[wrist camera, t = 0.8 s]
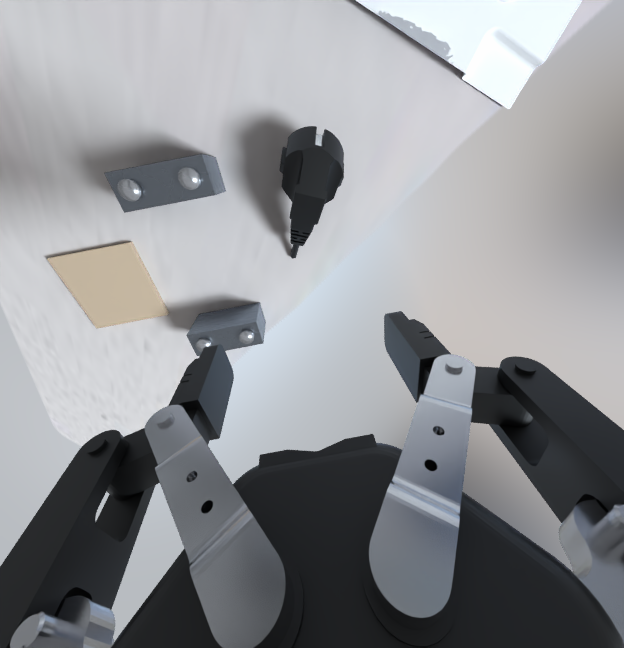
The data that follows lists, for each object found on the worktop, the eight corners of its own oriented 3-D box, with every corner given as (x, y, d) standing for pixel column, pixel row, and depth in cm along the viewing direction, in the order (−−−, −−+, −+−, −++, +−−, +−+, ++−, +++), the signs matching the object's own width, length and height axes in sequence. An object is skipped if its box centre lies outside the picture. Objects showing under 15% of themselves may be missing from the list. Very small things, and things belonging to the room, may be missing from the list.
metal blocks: (134, 172, 25) (99, 172, 20) (215, 157, 25) (199, 153, 20) (207, 333, 35) (195, 359, 30) (265, 322, 35) (262, 346, 30)
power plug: (268, 257, 29) (280, 159, 19) (275, 207, 32) (289, 97, 21) (316, 266, 31) (353, 177, 20) (319, 217, 33) (353, 116, 23)
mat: (51, 257, 28) (46, 258, 28) (131, 241, 28) (129, 242, 28) (99, 326, 33) (96, 328, 32) (169, 312, 33) (167, 314, 32)
